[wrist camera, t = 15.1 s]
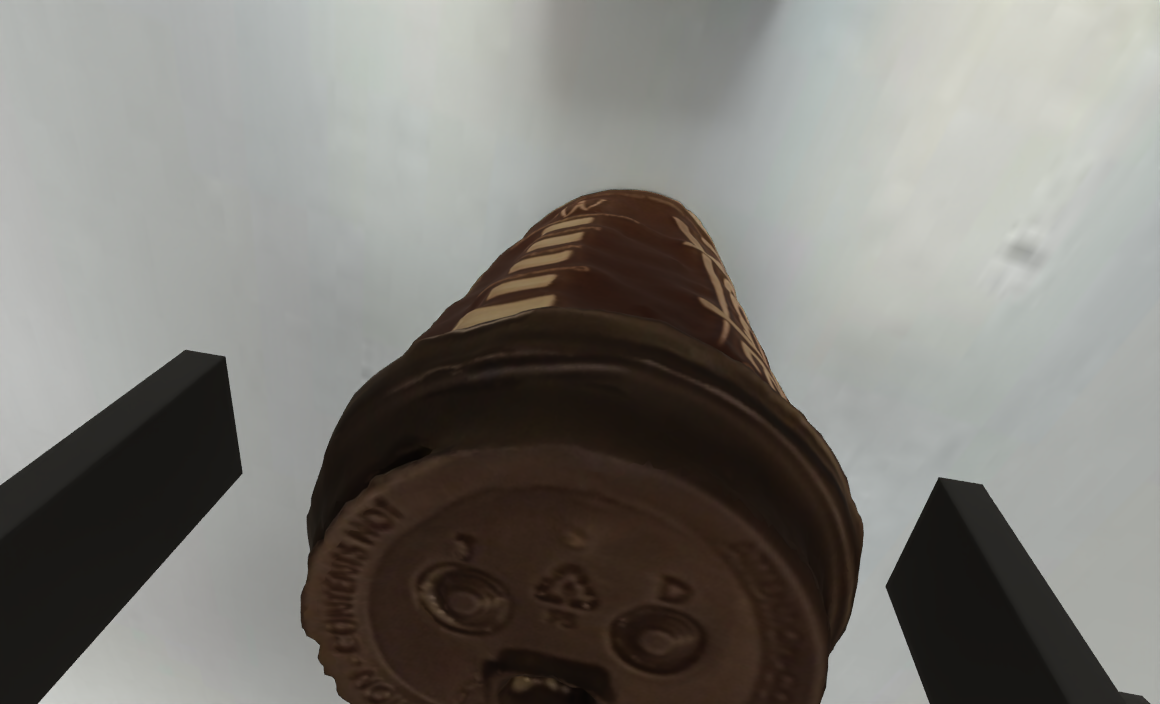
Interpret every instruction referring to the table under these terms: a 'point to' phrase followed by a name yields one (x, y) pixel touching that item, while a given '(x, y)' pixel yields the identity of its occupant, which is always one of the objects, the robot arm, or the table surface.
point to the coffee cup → (583, 490)
